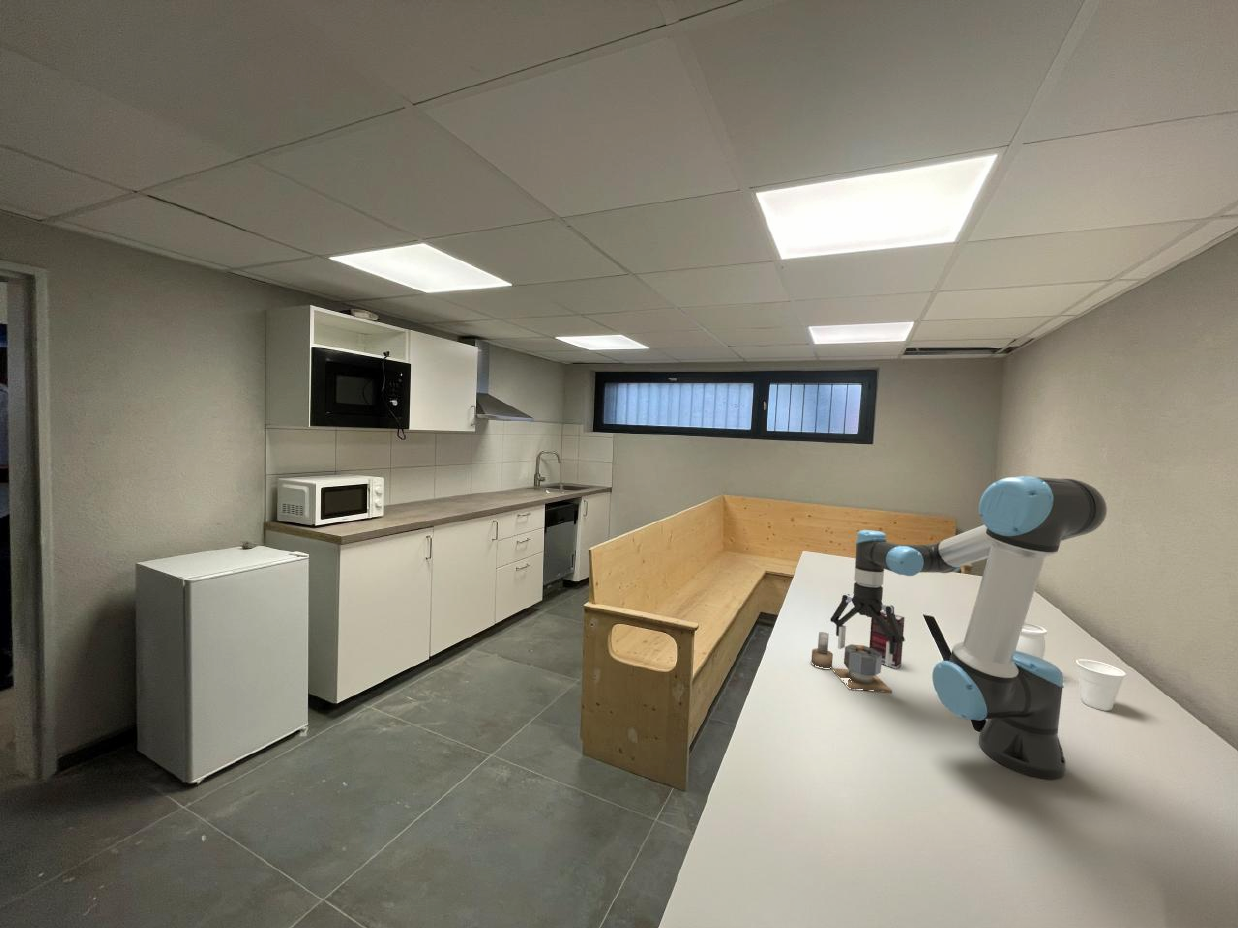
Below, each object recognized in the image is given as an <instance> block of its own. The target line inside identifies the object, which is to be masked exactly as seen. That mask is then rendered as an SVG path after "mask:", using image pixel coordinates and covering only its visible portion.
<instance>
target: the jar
mask: <svg viewBox="0 0 1238 928" xmlns="http://www.w3.org/2000/svg"><path fill="white" fill-rule="evenodd" d="M1047 633H1048V632H1047V629H1045V628H1044V627H1041V626H1039V625H1036V624H1033V623H1029V622H1024V625H1023V628H1022V631H1021V634H1020V637H1019V641H1018V644H1017V647H1016V650H1015V651H1019V652H1023V653H1026V654H1029V655H1032V656H1035V657H1038V658H1040V659H1043V658H1044V656H1045V653H1046V640H1045V636H1046V635H1047ZM1043 660H1044V659H1043Z"/></svg>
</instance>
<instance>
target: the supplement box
mask: <svg viewBox="0 0 1238 928" xmlns="http://www.w3.org/2000/svg"><path fill="white" fill-rule="evenodd" d="M880 612H881V613H882V615H883V617H884V619H885V621H886V622H887V624H888V625H889V627H890V628H891V626H890V624H889V621H888V619H887V616H886V613H884V610H881V611H880ZM895 617H896V619H897V622H898V624H899V626H900V629H901V631H902V634H903V635H904V630H905V616H902V615H898V614H895ZM870 618H871V619H870V633H869V634H870V635H869V646H868V647H870V648H872V649H875V650H877V651H878V652H879V653H880V654H881V655H882V661H881V665H883V664H884V665H883V666H885V657H886V642H888V641H889V640H888V638H887V637H886V635H885V634H884V632H883V631H882V629H881V628H880V626H879V624H878V623H877V621H875V620H874V618H873V617H870ZM891 630H892V629H891ZM903 643H904V642H901V643H897V649H896V654H894V655H893V656H892V664H891V665H889V667H888V668H891V667H892V668H891V669H895V670H898V669H899V668H900V667H901V666H902V659H903ZM899 666H900V667H899Z"/></svg>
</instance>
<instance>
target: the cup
mask: <svg viewBox="0 0 1238 928" xmlns="http://www.w3.org/2000/svg"><path fill="white" fill-rule="evenodd" d="M1075 663H1076V665H1077V675H1078V679H1079V681H1078V682H1079V683H1078V684H1079V690H1080V698H1081V699H1080V700H1081V701H1082V703H1083V704H1084V705H1086V706H1088V707H1090V708H1092V709H1095V710H1098V711H1099V710H1100V711H1104V712H1105V711H1106V712H1109V711H1111V710H1113V708H1114V704H1115V702H1116V698H1117V696H1118V693H1119V691H1120V688H1121V686H1122V684H1123V680H1124V677H1125V676H1126V675H1127V674H1126V672H1125V671H1124V670H1122V669H1121V668H1118V667H1116V666H1113V665H1111V664H1107V663H1104V662H1100V661H1096V660H1092V659H1085V658H1083V659H1082V658H1081V659H1076V660H1075Z"/></svg>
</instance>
